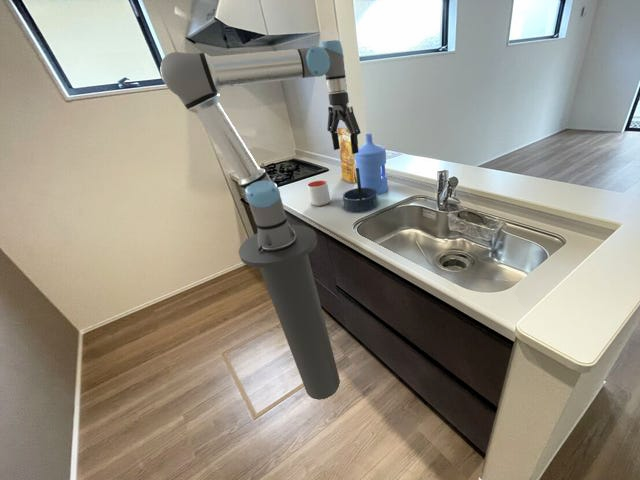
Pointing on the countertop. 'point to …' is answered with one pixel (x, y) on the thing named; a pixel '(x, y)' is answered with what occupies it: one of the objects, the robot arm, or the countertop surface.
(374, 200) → the bowl
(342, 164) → the pancake mix bag
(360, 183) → the rod stand
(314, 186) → the cup
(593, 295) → the countertop surface
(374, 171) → the water jug
